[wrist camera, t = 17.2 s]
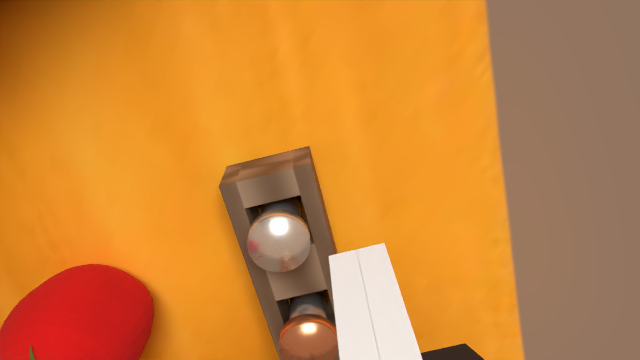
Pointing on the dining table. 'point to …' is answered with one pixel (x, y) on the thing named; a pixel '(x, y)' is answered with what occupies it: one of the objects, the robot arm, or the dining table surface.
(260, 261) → the cream plug
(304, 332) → the plug mid terracotta
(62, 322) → the tomato
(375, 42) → the dining table surface
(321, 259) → the brown long block
